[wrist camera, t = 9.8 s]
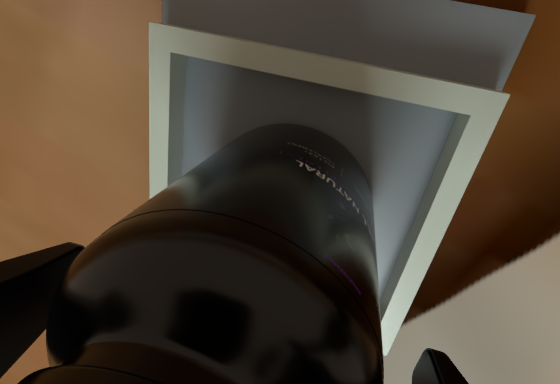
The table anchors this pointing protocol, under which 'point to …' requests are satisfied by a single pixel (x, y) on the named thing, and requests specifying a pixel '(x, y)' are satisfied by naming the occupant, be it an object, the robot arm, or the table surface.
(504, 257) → the table surface
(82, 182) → the table surface
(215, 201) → the supplement bottle
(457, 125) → the coaster tray
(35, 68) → the table surface
